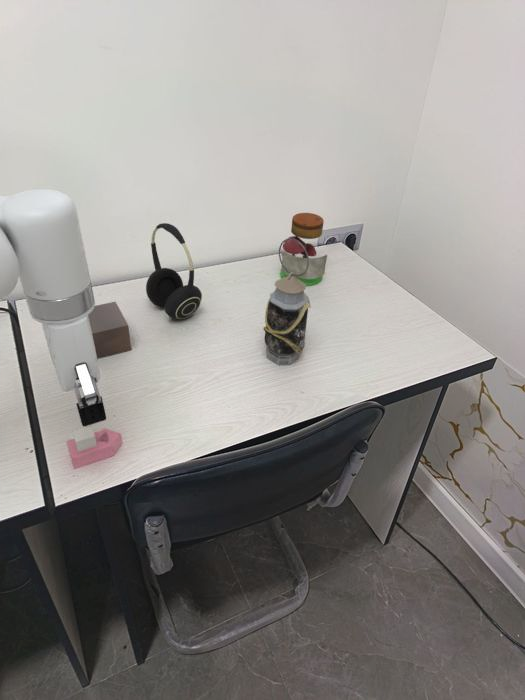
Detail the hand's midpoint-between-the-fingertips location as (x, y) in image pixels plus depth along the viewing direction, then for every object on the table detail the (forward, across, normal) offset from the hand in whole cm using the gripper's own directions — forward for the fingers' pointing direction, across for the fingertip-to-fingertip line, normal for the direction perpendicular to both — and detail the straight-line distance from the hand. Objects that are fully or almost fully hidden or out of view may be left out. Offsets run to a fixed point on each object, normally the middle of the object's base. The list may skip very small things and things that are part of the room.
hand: (85, 399), depth 70 cm
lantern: (+12, -9, +38) cm, 41 cm away
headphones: (+12, -32, +24) cm, 42 cm away
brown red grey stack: (+13, -35, +58) cm, 69 cm away
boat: (+11, 0, -1) cm, 11 cm away
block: (+12, -27, +7) cm, 30 cm away
